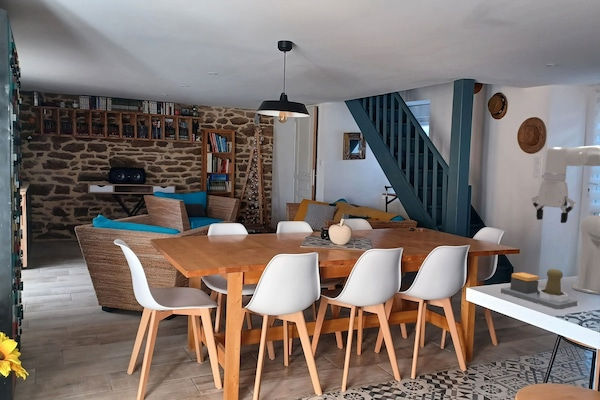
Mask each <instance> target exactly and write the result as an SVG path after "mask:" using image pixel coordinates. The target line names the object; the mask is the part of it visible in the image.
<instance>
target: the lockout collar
mask: <svg viewBox="0 0 600 400" xmlns="http://www.w3.org/2000/svg"><path fill="white" fill-rule="evenodd" d="M545 288H546V287H545ZM545 288H538V289H537V297H538V298H539V299H543V300H546V301H549V302H558V303H564V302H568V299H569V294H568V293H567V292H565V291H563V290H561V295H553V294H548V293H544V292H545Z"/></svg>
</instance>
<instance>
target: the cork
mask: <svg viewBox="0 0 600 400" xmlns="http://www.w3.org/2000/svg"><path fill="white" fill-rule="evenodd" d="M546 276H547V281H546V286H545V292H544V293H548V294H553V295H561V291H562V289H561V288H562V286H561V285H562V284H561V279H563V277H564V275H563V272H562V271H561V270H559V269H555V268H552V269H551V268H550V269H548V270H547V271H546Z"/></svg>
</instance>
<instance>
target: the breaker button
mask: <svg viewBox="0 0 600 400" xmlns="http://www.w3.org/2000/svg"><path fill="white" fill-rule="evenodd" d="M511 278H517V279H519V280H523V281H535V280H537V281H539V279H540V277H539V275H534V274H531V273H528V272H524V271H523V272H514V273H511Z"/></svg>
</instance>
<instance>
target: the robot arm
mask: <svg viewBox="0 0 600 400" xmlns="http://www.w3.org/2000/svg"><path fill="white" fill-rule="evenodd" d="M544 166H545V167H544V173H543V174H542V175H541V178H542V179H543V180H541V183H540V186H539V191H538V195H536V196H534V197H532V198H531V202H532V205H533V206H534V207H535V210H536V220H537V221H540V220H543V216H544V209H543V208H544V207H547V208H548V207H549V208H559V209H561V211H562V212H561V213H560V223H561V224H565V223H567V221H568V218H569V217H568V216H569V213H570V212H571V211H572V210H573V209H574V207H575V206H576V205H577V202H576V201H574V200H572V199H571V198H569V188H568V183H567V182H566V180H567V169H568V168H567V167H581V166H586V167H587V166H588V167H600V145H588V146H587V145H585V146H570V147H569V146H549V147H548V148H547V149H546V156H545V165H544ZM568 204H569V206H568ZM580 232H581V246H580V247H581V248H580V257H579V263H578V264H579V265H578V273H577V281H576V283H574V284H572V289H574V290H576V291H579V292H583V293H585V294H586V293H587V294H593V295H600V215H587V216H586V217H585V218H583V219H582V221H581V224H580Z"/></svg>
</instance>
